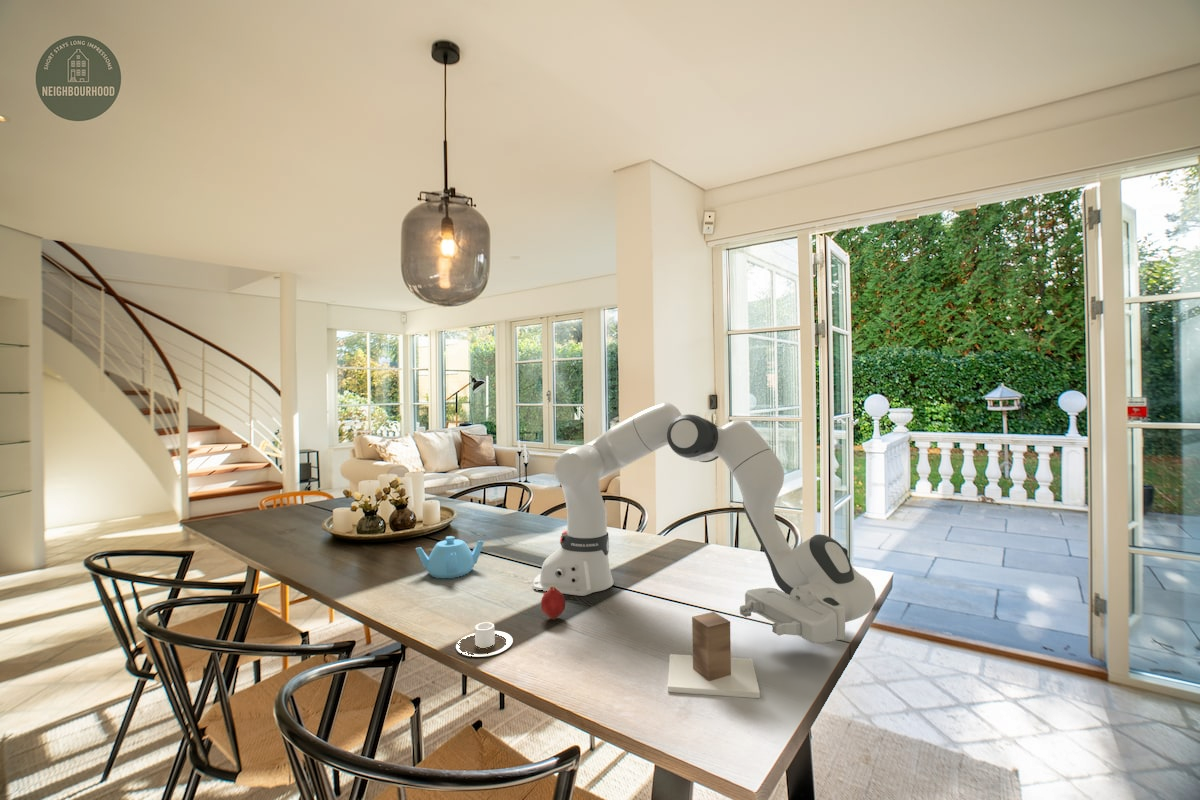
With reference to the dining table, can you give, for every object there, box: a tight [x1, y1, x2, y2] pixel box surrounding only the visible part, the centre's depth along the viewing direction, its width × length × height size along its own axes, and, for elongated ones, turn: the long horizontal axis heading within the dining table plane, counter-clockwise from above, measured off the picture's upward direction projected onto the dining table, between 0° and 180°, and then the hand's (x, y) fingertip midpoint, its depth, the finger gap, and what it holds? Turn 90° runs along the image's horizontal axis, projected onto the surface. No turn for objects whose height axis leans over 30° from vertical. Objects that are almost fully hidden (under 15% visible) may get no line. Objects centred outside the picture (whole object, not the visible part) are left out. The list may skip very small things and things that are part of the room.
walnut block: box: [691, 611, 732, 681], centre depth 102 cm, size 5×5×10 cm
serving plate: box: [667, 653, 761, 699], centre depth 102 cm, size 16×12×1 cm
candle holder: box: [455, 621, 514, 658], centre depth 117 cm, size 12×12×4 cm
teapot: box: [415, 535, 485, 579], centre depth 165 cm, size 15×15×11 cm
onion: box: [540, 586, 566, 620], centre depth 130 cm, size 6×6×8 cm
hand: (757, 620), depth 107 cm, fingers open, 8 cm apart
